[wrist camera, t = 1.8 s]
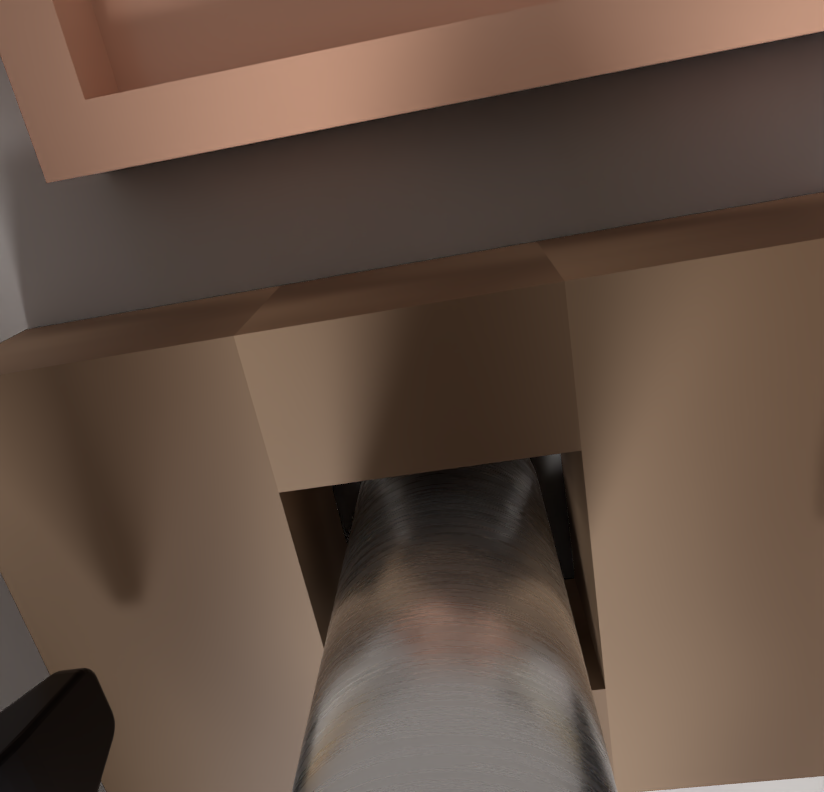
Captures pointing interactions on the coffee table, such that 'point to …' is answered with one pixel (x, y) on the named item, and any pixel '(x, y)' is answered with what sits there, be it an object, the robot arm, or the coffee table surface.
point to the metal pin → (453, 647)
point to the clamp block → (431, 451)
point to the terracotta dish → (324, 62)
